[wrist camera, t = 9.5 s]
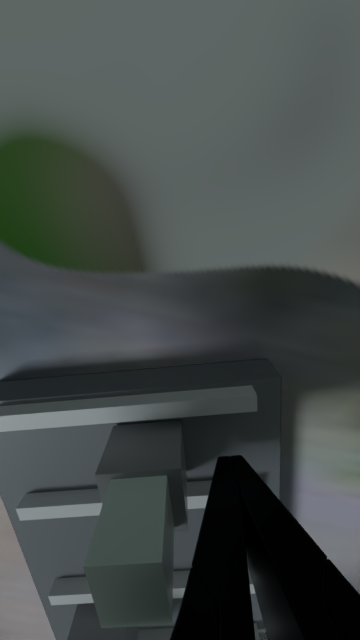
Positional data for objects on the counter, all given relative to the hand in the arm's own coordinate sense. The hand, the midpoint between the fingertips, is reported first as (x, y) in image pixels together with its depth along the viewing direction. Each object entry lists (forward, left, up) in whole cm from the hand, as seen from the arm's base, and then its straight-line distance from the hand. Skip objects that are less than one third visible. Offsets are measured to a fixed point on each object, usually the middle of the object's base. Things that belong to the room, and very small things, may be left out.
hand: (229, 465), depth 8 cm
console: (-4, +4, -2) cm, 6 cm away
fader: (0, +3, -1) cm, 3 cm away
